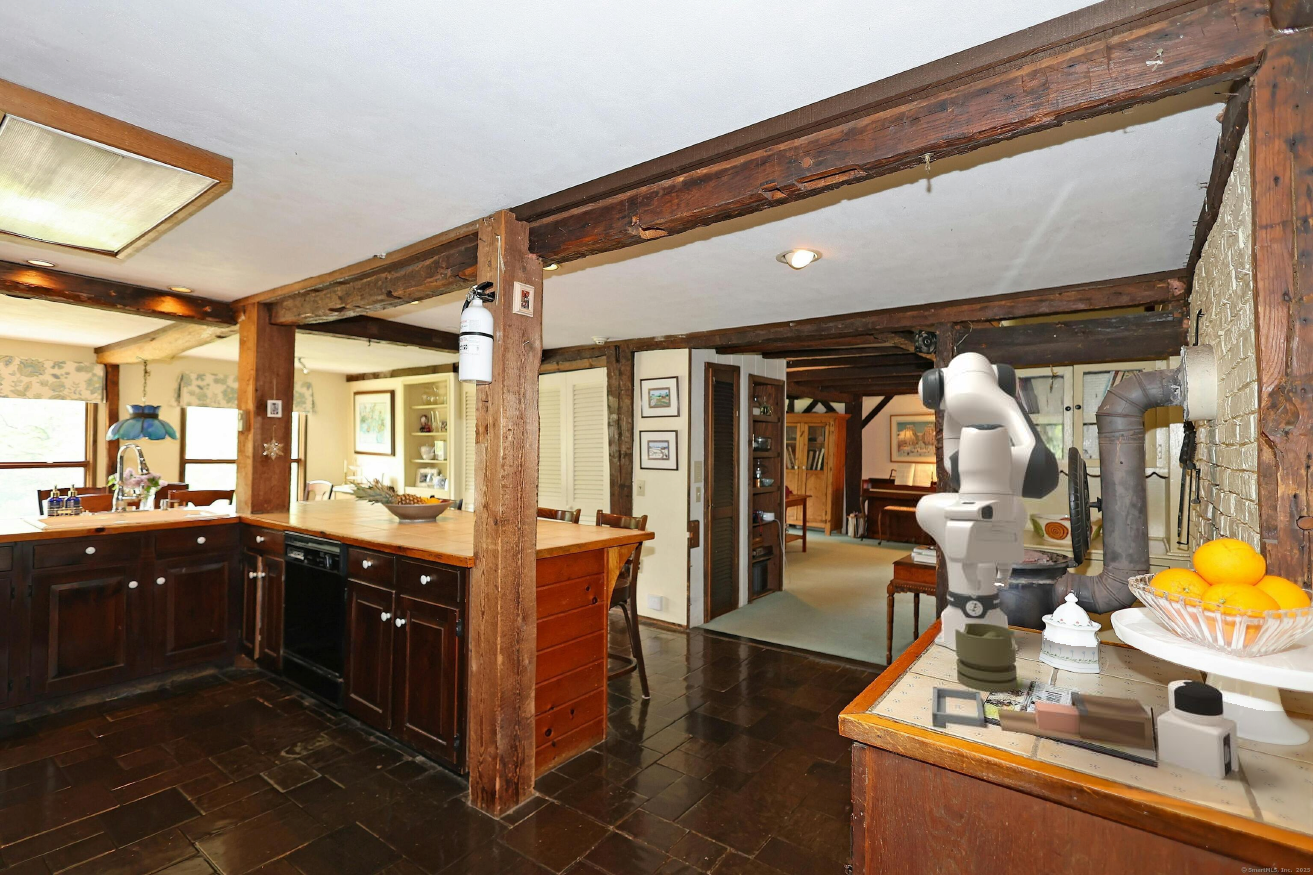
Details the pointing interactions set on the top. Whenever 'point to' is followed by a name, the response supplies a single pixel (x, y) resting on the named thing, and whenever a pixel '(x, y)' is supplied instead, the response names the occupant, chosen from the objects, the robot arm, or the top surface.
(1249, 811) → the top surface
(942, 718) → the tray
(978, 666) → the piston
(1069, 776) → the top surface
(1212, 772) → the container
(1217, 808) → the top surface
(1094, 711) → the brown slab
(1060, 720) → the salmon pink rectangular prism
